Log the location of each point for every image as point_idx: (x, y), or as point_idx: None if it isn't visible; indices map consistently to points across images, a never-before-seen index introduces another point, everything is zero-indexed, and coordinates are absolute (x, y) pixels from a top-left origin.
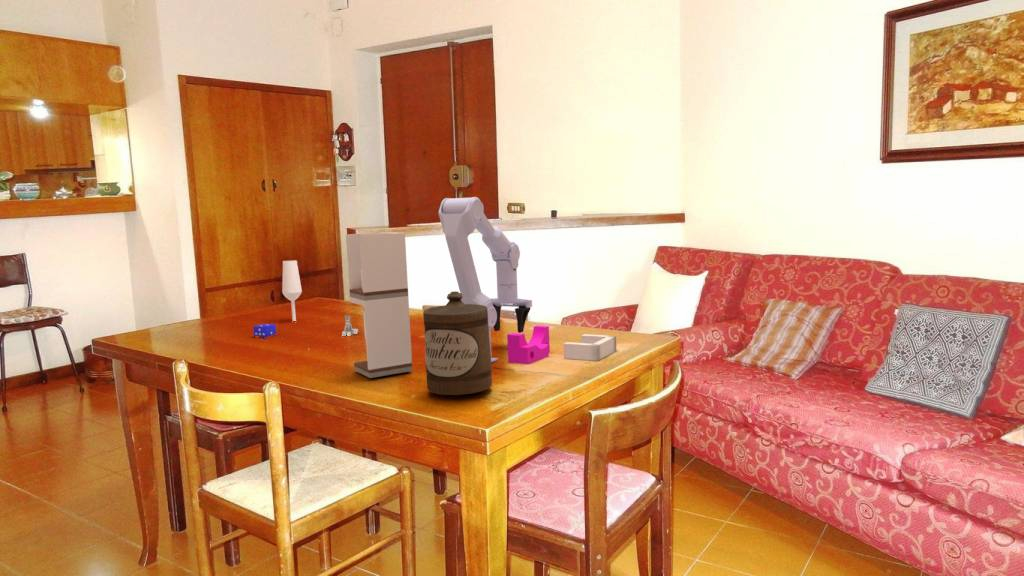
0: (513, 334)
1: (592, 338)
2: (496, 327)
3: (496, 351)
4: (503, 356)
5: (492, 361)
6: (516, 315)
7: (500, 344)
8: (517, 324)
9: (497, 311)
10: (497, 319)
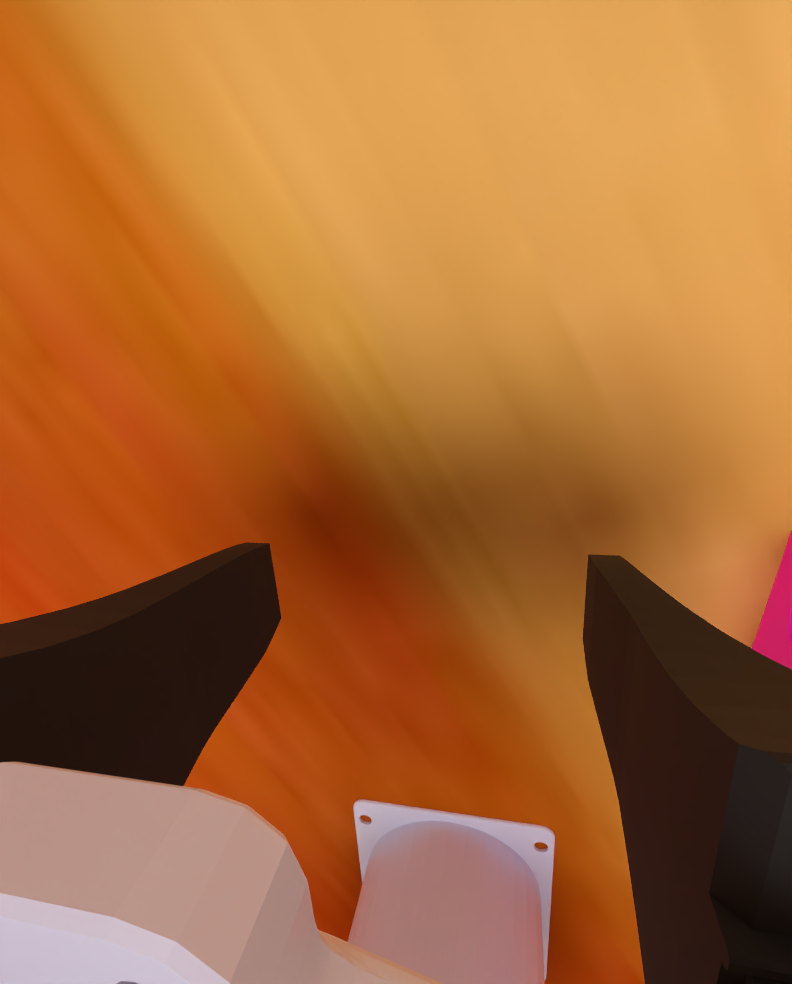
0: None
1: None
2: (260, 642)
3: (407, 636)
4: (554, 767)
5: (551, 885)
6: (644, 936)
7: (267, 373)
8: (606, 742)
9: (93, 757)
10: (189, 662)
